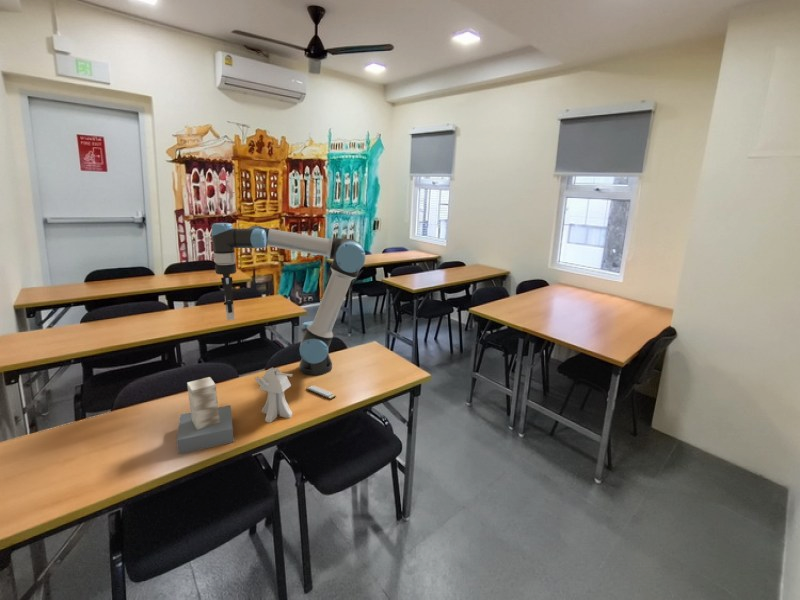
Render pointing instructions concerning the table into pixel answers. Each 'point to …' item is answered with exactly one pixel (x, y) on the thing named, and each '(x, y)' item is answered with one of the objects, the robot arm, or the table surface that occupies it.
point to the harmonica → (321, 392)
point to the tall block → (203, 402)
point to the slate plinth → (204, 432)
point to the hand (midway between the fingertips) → (230, 315)
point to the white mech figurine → (275, 394)
